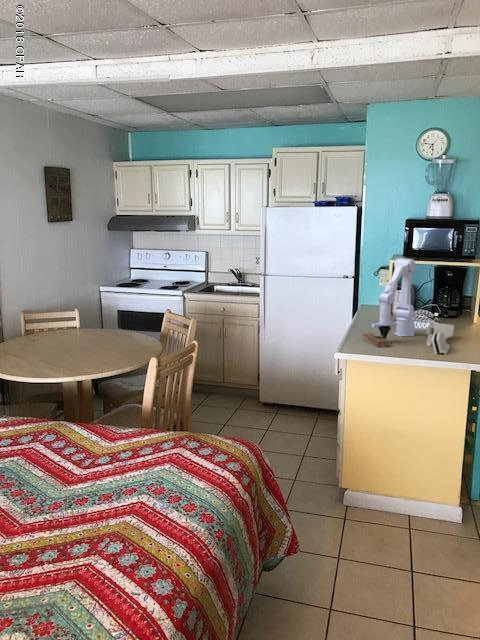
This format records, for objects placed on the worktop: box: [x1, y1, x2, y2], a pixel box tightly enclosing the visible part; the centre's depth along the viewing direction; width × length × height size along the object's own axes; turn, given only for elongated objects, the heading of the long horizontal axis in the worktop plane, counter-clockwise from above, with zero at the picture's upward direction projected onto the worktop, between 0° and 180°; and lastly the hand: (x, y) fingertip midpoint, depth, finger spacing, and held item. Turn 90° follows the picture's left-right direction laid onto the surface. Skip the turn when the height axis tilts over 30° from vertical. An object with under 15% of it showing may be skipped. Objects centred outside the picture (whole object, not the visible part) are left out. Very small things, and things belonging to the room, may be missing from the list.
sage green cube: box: [373, 333, 383, 339], centre depth 286 cm, size 4×4×4 cm
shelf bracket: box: [425, 322, 455, 347], centre depth 288 cm, size 6×25×13 cm, turn 134°
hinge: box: [431, 333, 451, 356], centre depth 269 cm, size 17×5×10 cm, turn 151°
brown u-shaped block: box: [361, 332, 391, 348], centre depth 285 cm, size 7×18×3 cm, turn 14°
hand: (383, 339), depth 286 cm, fingers closed
